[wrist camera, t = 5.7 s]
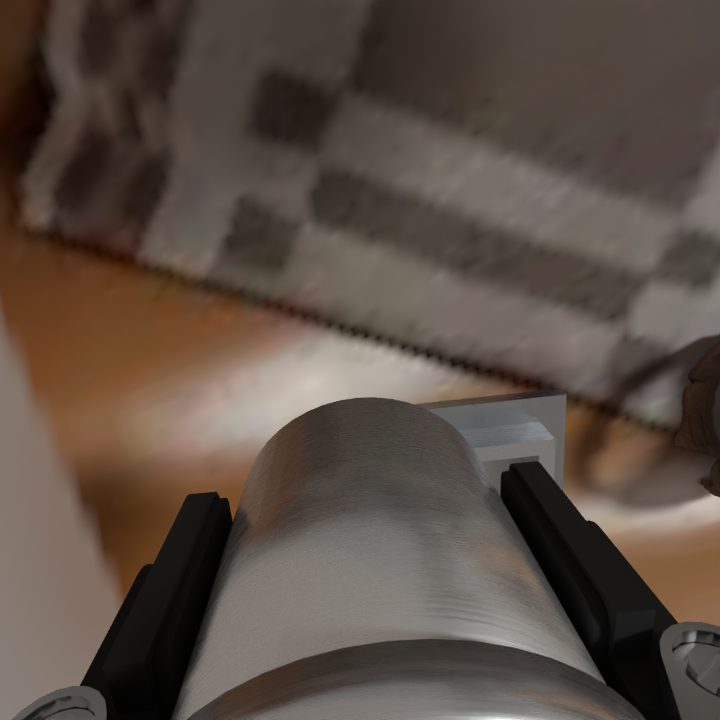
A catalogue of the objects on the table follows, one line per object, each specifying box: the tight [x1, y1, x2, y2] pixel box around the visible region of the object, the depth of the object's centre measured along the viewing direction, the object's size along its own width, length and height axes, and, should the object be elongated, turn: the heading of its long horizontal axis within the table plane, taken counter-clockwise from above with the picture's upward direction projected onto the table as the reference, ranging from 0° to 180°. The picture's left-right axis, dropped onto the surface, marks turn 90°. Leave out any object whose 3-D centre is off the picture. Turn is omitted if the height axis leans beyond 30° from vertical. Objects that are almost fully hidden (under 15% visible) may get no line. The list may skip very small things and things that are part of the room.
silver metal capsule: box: [171, 397, 646, 720], centre depth 8 cm, size 6×6×7 cm
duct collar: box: [416, 389, 566, 496], centre depth 27 cm, size 13×13×3 cm
